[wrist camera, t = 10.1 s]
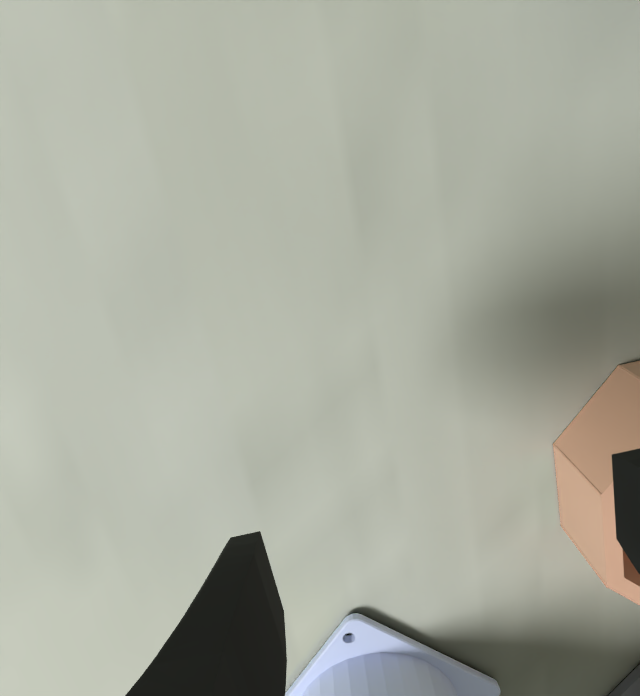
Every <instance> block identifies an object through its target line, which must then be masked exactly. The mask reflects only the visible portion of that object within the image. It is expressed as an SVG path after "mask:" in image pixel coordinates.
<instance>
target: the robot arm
mask: <svg viewBox="0 0 640 696" xmlns="http://www.w3.org/2000/svg"><path fill="white" fill-rule="evenodd" d="M612 471H613V488H614V505H615V523H616V539H617V541H618V542H619V544H620V545H621V547H622V548H623V550H624V552H625V553H626V555H627V556H628V558H629V559H630V561H631V563H632V564H633V566H634V567H635V569H636V570H637V571H638V573H639V574H640V448H639V449H635V450H630V451H625V452H621V453H616V454H612ZM346 633H352V634H351V635H348V636H347V635H345V634H346ZM286 665H287V657H286V638H285V623H284V610H283V607H282V603H281V600H280V597H279V593H278V590H277V587H276V583H275V580H274V577H273V573H272V570H271V566H270V563H269V560H268V556H267V553H266V550H265V546H264V543H263V539H262V536H261V533H260V531H259V532H255V533H250V534H245V535H241V536H236V537H232V538H230V540H229V541H228V543H227V544H226V546H225V548H224V549H223V551H222V553H221V554H220V556H219V558H218V560H217V561H216V563H215V565H214V567H213V568H212V570H211V572H210V574H209V575H208V577H207V579H206V580H205V582H204V584H203V586H202V587H201V589H200V591H199V592H198V594H197V595H196V597H195V599H194V600H193V602H192V603H191V605H190V607H189V608H188V610H187V612H186V613H185V615H184V616H183V618H182V619H181V621H180V622H179V624H178V626H177V627H176V628H175V630H174V631H173V633H172V634H171V636H170V637H169V639H168V640H167V641H166V643H165V644H164V646H163V647H162V649H161V650H160V652H159V653H158V654H157V656H156V657H155V659H154V660H153V661H152V663H151V664H150V665H149V667H148V668H147V669H146V671H145V672H144V673H143V675H142V676H141V677H140V678H139V680H138V681H137V682H136V683H135V684H134V686H133V687H132V688H131V689H130V691H129V692H128V693H127V694H126V695H125V696H499V695H500V692H501V690H500V687H499V685H498V683H497V681H496V680H495V679H493V678H491V677H489V676H487V675H485V674H483V673H481V672H479V671H477V670H475V669H473V668H470V667H468V666H466V665H464V664H462V663H460V662H458V661H456V660H454V659H452V658H450V657H448V656H446V655H444V654H442V653H440V652H438V651H436V650H433V649H431V648H429V647H427V646H425V645H423V644H421V643H419V642H417V641H415V640H413V639H411V638H409V637H407V636H405V635H403V634H401V633H399V632H396V631H394V630H392V629H390V628H388V627H386V626H384V625H382V624H380V623H378V622H376V621H374V620H372V619H370V618H368V617H366V616H364V615H361V614H358V613H354V614H350V615H348V616H347V617H345V618H344V620H343V621H342V622H341V623H340V625H339V626H338V627H337V629H336V630H335V631H334V632H333V634H332V635H331V636H330V637H329V639H328V640H327V641H326V642H325V644H324V645H323V646H322V648H321V649H320V650H319V651H318V653H317V654H316V655H315V656H314V658H313V659H312V660H311V661H310V663H309V664H308V665H307V667H306V668H305V669H304V670H303V672H302V673H301V674H300V675H299V677H298V678H297V679H296V680H295V682H294V683H293V684H292V686H291V687H290V688H289V689H288V691H287V692H286V693H285V686H286Z"/></svg>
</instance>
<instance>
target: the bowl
mask: <svg viewBox="0 0 640 696" xmlns="http://www.w3.org/2000/svg"><path fill="white" fill-rule="evenodd" d="M553 448H554V458H555V469H556V480H557V490H558V501H559V511H560V522H561V527H562V528H563V530H564V531H565V532H566V534H567V535H568V536H569V538H570V539H571V540H572V542H573V543H574V544H575V546H576V547H577V548H578V550H579V551H580V552H581V554H582V555H583V556H584V558H585V559H586V560H587V562H588V563H589V564H590V566H591V567H592V568H593V570H594V571H595V572H596V574H597V575H598V576H599V578H600V579H601V580H602V582H603V583H604V584H605V586H606V587H607V588H609V589H611V590H613V591H615V592H617V593H618V594H620V595H622V596H624V597H626V598H627V599H629V600H631V601H633V602H634V603H636V604H638V605H640V574H639V573H638V571H637V570H636V569H635V567H634V566H633V564H632V563H631V561H630V559H629V558H628V556H627V555H626V553H625V552H624V550H623V548H622V547H621V545H620V544H619V542H618V541H617V539H616V523H615V505H614V488H613V471H612V454H616V453H621V452H625V451H630V450H635V449H639V448H640V361H636V362H631V363H627V364H622V365H618V366H617V368H616V369H615V370H614V371H613V372H612V374H611V375H610V376H609V377H608V378H607V380H606V381H605V382H604V383H603V384H602V386H601V387H600V388H599V389H598V390H597V392H596V393H595V394H594V395H593V397H592V398H591V399H590V400H589V401H588V403H587V404H586V405H585V406H584V407H583V409H582V410H581V411H580V412H579V413H578V415H577V416H576V417H575V418H574V419H573V421H572V422H571V423H570V424H569V426H568V427H567V428H566V429H565V430H564V432H563V433H562V434H561V435H560V436H559V438H558V439H557V440H556V441H555V442H554V443H553Z"/></svg>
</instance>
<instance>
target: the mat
mask: <svg viewBox="0 0 640 696" xmlns="http://www.w3.org/2000/svg"><path fill="white" fill-rule="evenodd" d="M608 696H640V664H639V665H638V666H637V667H636V668H635V669H634V670H633V671H632V672H631V673H630V674H629V675H628V676H627V677H626V678H625V679H624V680H623V681H622V682H621V683H620V684H619V685H618V686H617V687H616V688H615V689H614V690H613V691H612V692H611V693H610V694H609V695H608Z"/></svg>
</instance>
